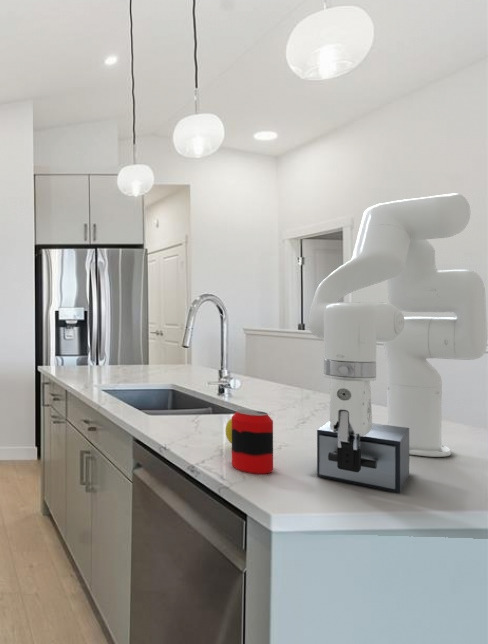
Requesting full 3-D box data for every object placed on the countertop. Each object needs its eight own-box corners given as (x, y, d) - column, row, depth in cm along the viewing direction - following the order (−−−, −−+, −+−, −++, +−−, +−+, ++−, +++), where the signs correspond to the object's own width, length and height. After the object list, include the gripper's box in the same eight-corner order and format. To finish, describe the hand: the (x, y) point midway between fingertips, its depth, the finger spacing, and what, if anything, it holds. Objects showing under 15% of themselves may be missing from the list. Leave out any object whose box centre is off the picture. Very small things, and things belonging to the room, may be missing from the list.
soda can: (280, 475, 103) (279, 416, 103) (240, 473, 104) (240, 416, 104) (263, 463, 110) (263, 409, 110) (226, 462, 111) (226, 408, 111)
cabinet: (400, 493, 92) (400, 441, 92) (317, 476, 102) (317, 429, 102) (409, 474, 102) (409, 427, 102) (332, 460, 112) (332, 418, 111)
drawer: (391, 495, 89) (391, 451, 89) (314, 479, 98) (314, 439, 97) (404, 472, 101) (404, 433, 101) (333, 459, 110) (333, 424, 109)
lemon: (255, 452, 118) (255, 418, 118) (230, 451, 120) (230, 418, 119) (246, 445, 124) (246, 413, 124) (222, 444, 125) (222, 413, 125)
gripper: (368, 376, 84) (368, 484, 84) (382, 368, 94) (382, 465, 94) (314, 372, 90) (314, 473, 90) (333, 365, 100) (332, 457, 100)
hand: (349, 469), depth 92 cm, fingers closed
